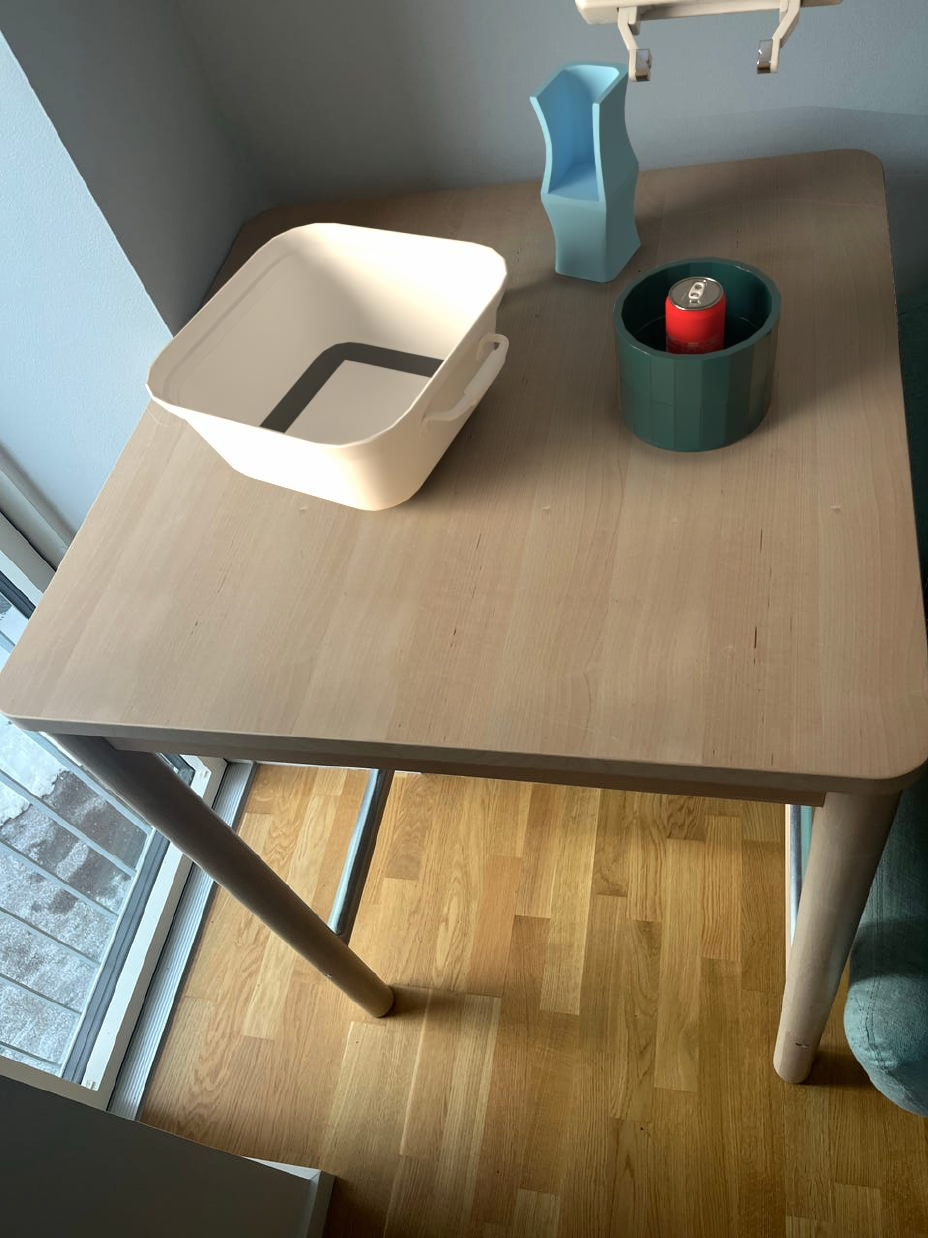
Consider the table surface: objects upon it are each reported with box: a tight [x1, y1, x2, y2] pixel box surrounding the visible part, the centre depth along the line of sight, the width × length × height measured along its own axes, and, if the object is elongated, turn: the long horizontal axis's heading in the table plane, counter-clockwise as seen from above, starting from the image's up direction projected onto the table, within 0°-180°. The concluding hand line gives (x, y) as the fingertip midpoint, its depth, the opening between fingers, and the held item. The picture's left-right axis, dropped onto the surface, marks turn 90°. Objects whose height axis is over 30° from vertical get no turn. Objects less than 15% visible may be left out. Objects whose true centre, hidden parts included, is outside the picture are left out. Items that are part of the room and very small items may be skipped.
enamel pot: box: [611, 256, 782, 453], centre depth 86 cm, size 15×15×11 cm
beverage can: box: [666, 277, 726, 354], centre depth 85 cm, size 5×5×12 cm
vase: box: [529, 59, 642, 283], centre depth 99 cm, size 8×8×20 cm
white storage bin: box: [145, 222, 510, 512], centre depth 90 cm, size 34×29×15 cm
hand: (701, 75), depth 69 cm, fingers open, 8 cm apart
